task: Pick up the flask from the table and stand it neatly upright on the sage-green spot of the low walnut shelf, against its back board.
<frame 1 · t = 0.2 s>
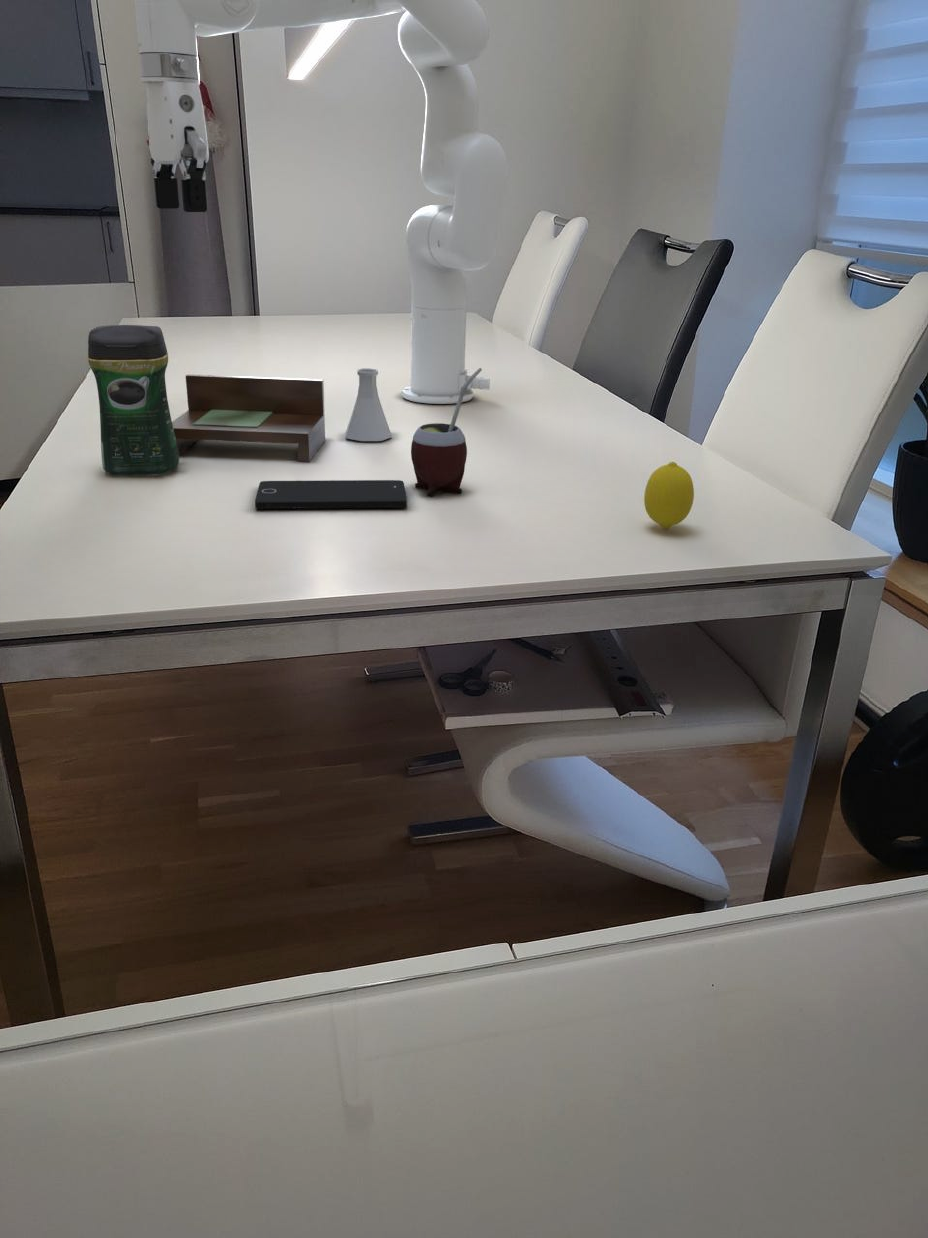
hand: (181, 209, 141), 31 cm above the table, tool pointing down, fingers open, 9 cm apart
coffee jar: (141, 471, 133), on the table
lemon: (664, 531, 117), on the table
shelf: (248, 448, 144), on the table
cell phone: (332, 499, 124), on the table
mate gourd: (441, 490, 129), on the table
flask: (368, 438, 152), on the table
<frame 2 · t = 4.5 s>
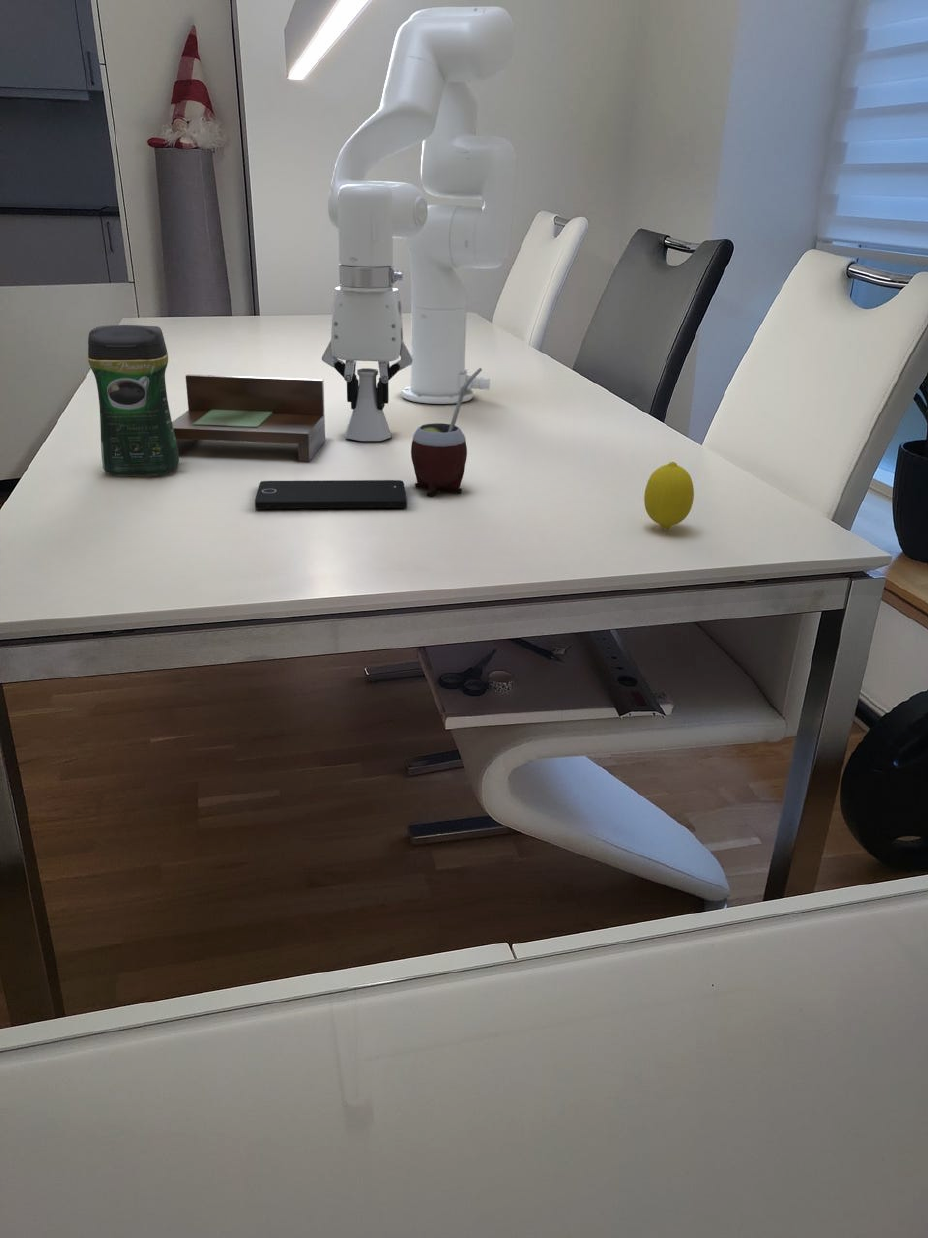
hand: (368, 406, 150), 5 cm above the table, tool pointing down, fingers closed on flask, 3 cm apart
flask: (368, 438, 152), on the table, touching gripper
everything else where it was.
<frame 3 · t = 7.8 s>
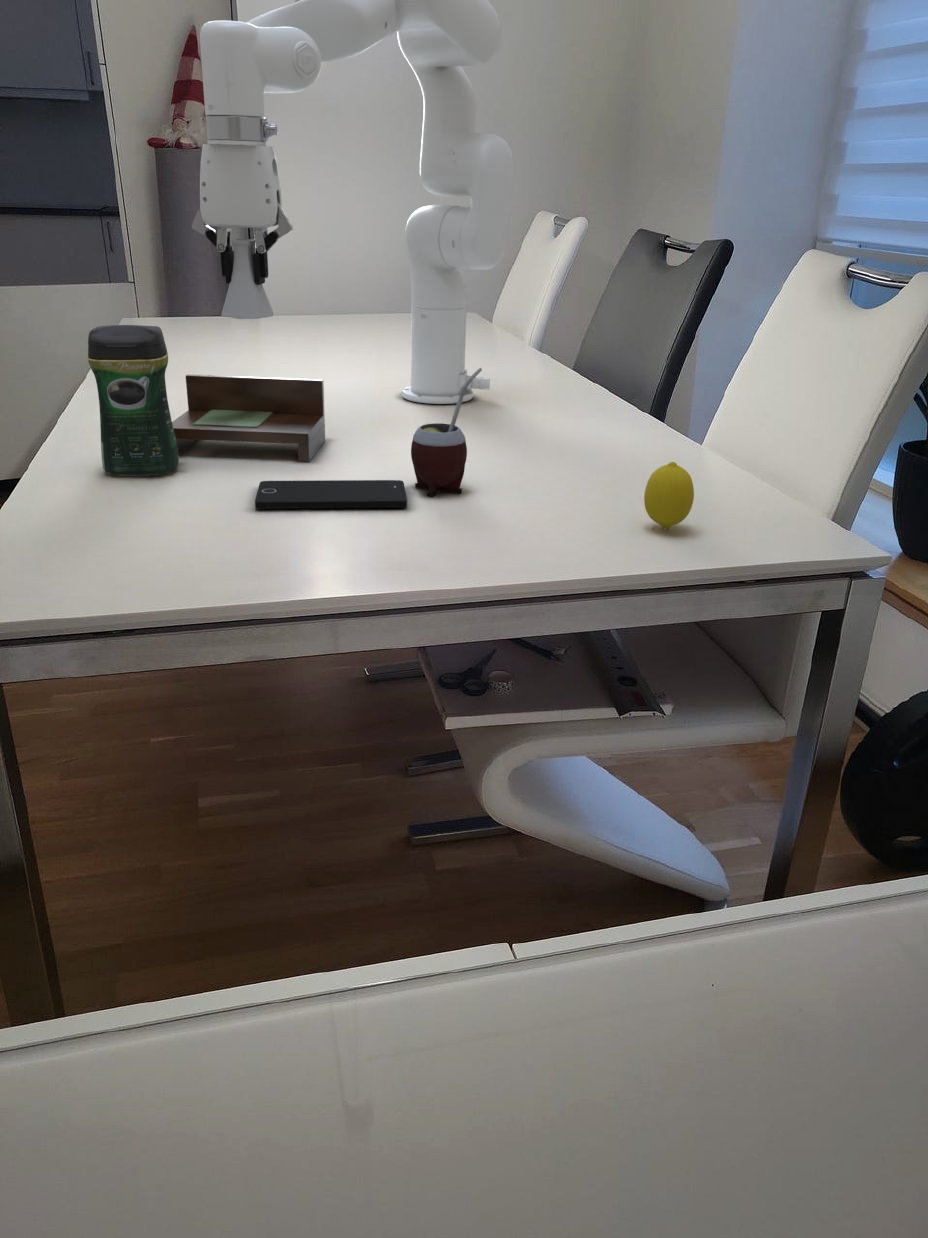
hand: (245, 281, 137), 23 cm above the table, tool pointing down, fingers closed on flask, 3 cm apart
flask: (247, 318, 139), point 18 cm above the table, touching gripper
everything else where it was.
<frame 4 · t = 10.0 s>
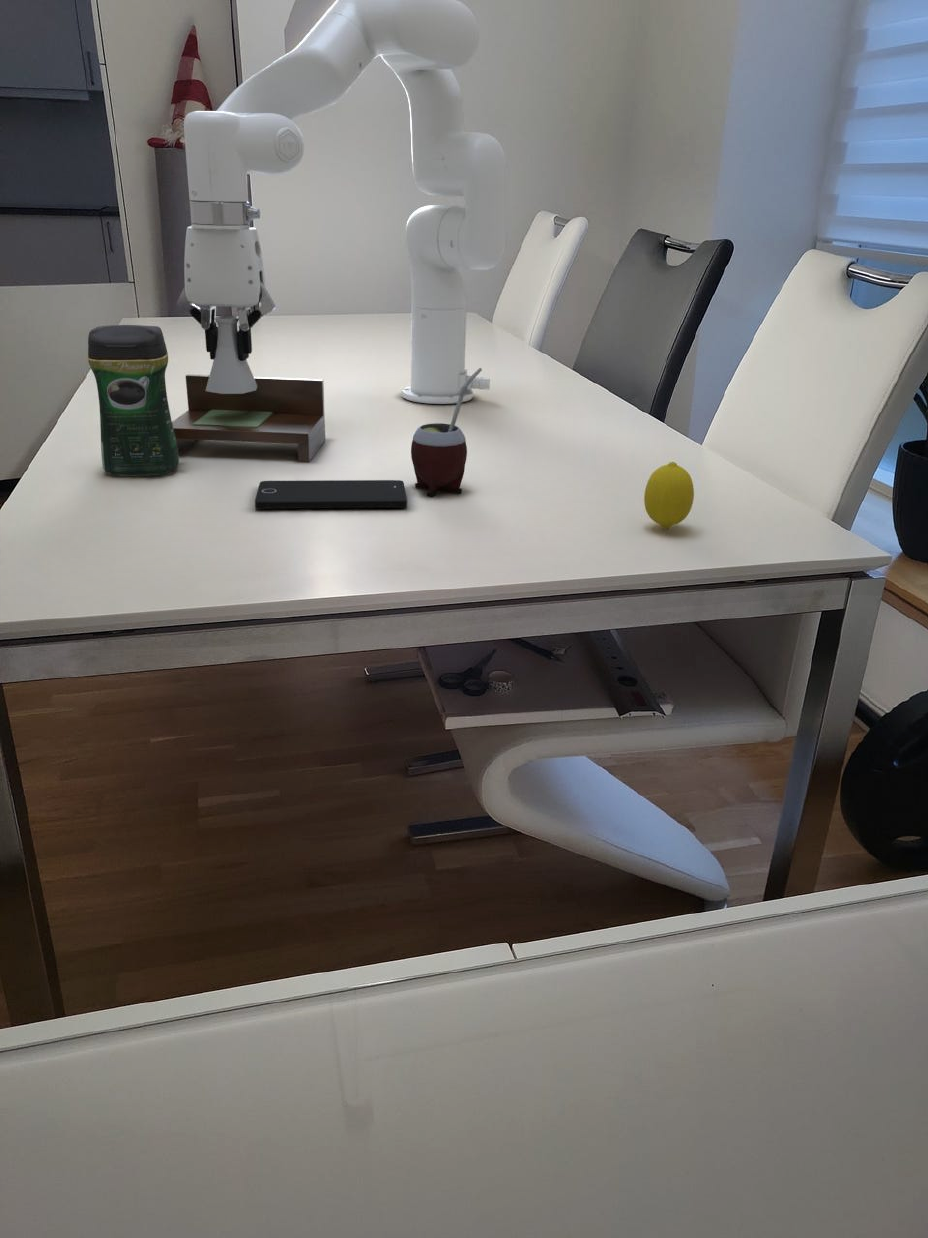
hand: (229, 356, 140), 13 cm above the table, tool pointing down, fingers closed on flask, 3 cm apart
flask: (232, 391, 142), point 8 cm above the table, touching gripper
everything else where it was.
when the fingers open (9 cm above the table, at t = 11.2 s): flask stays where it is, resting on shelf.
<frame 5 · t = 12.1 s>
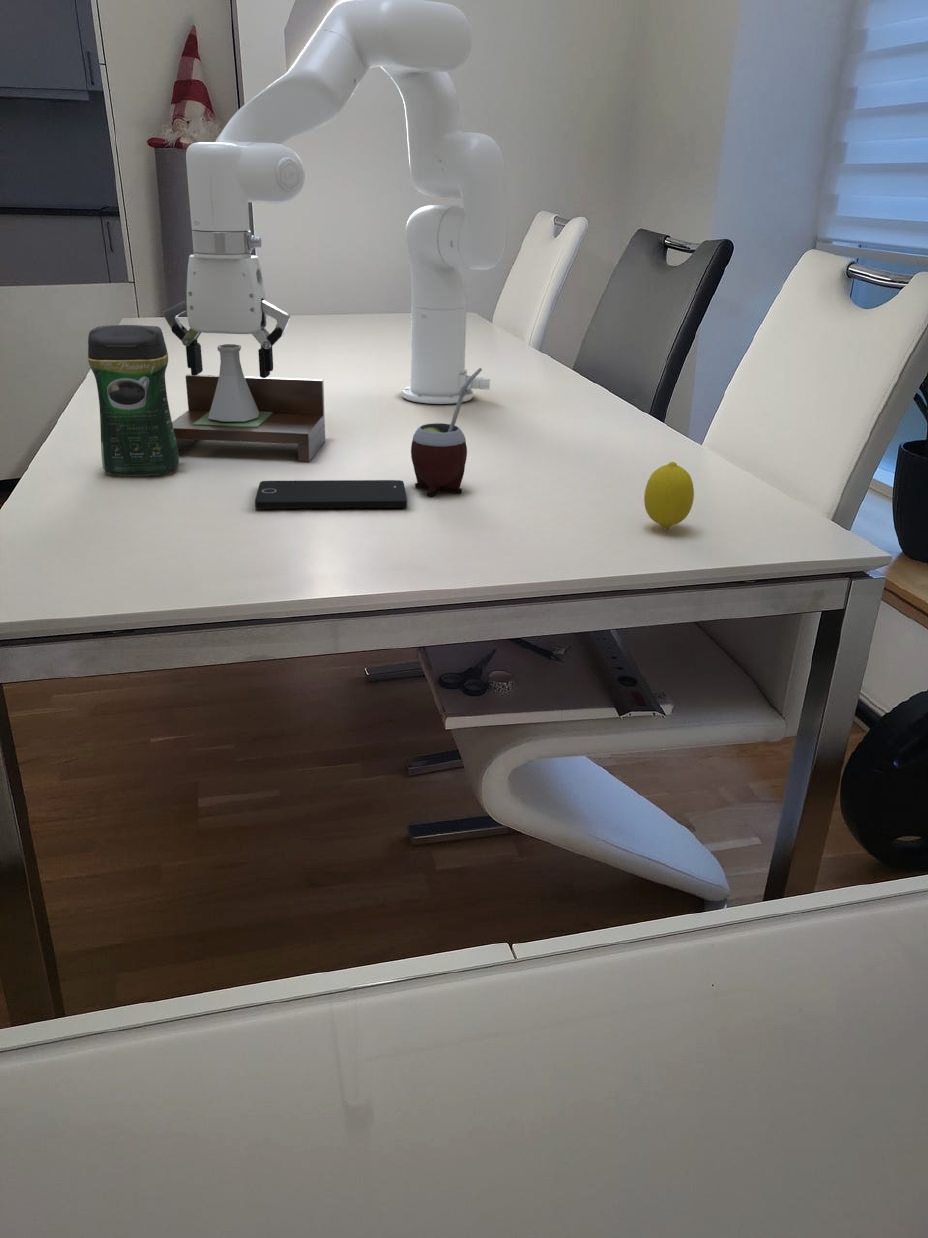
hand: (231, 374, 141), 10 cm above the table, tool pointing down, fingers open, 9 cm apart
flask: (234, 419, 143), point 4 cm above the table, touching shelf
everything else where it was.
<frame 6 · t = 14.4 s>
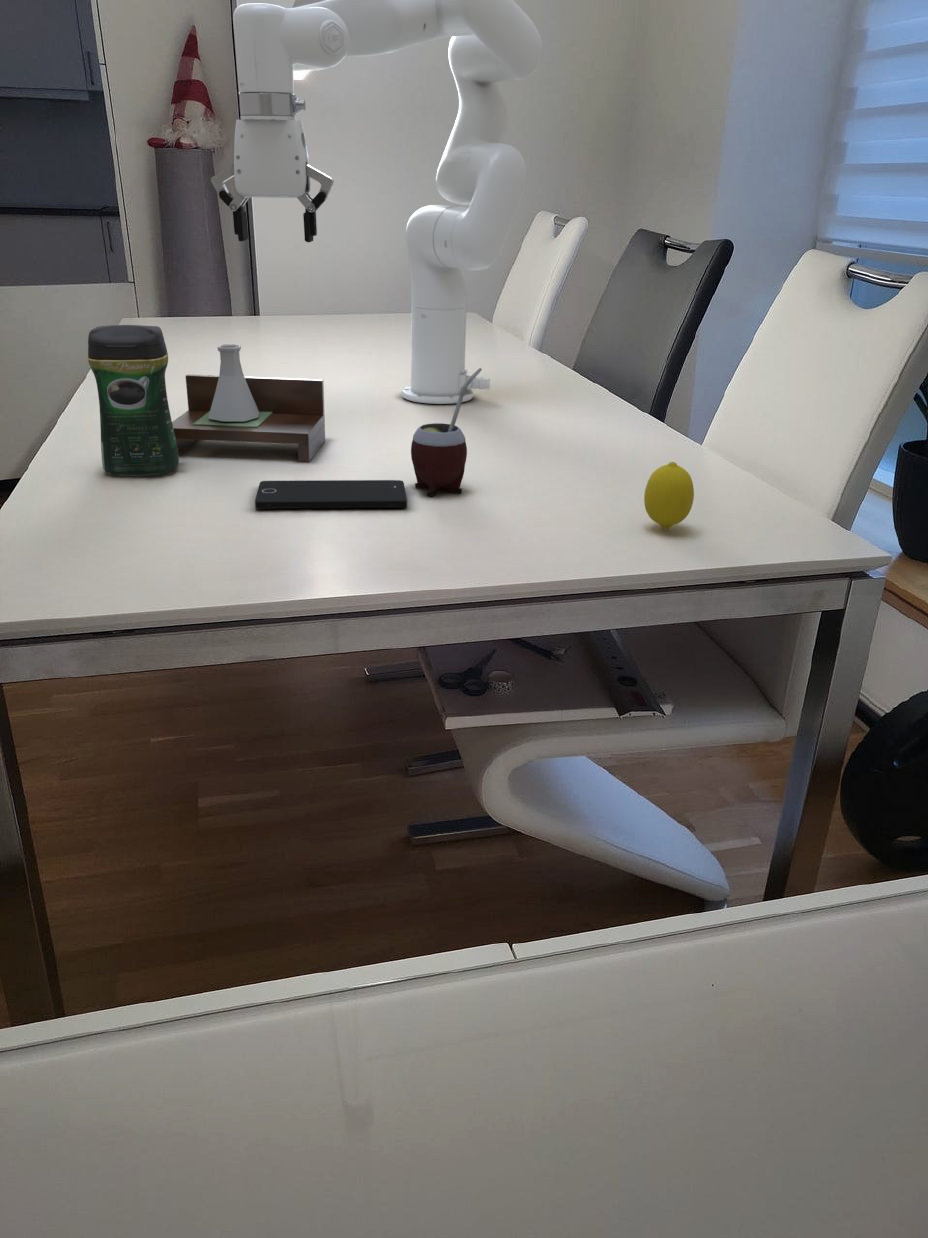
hand: (276, 240, 146), 27 cm above the table, tool pointing down, fingers open, 9 cm apart
nothing on the table moved.
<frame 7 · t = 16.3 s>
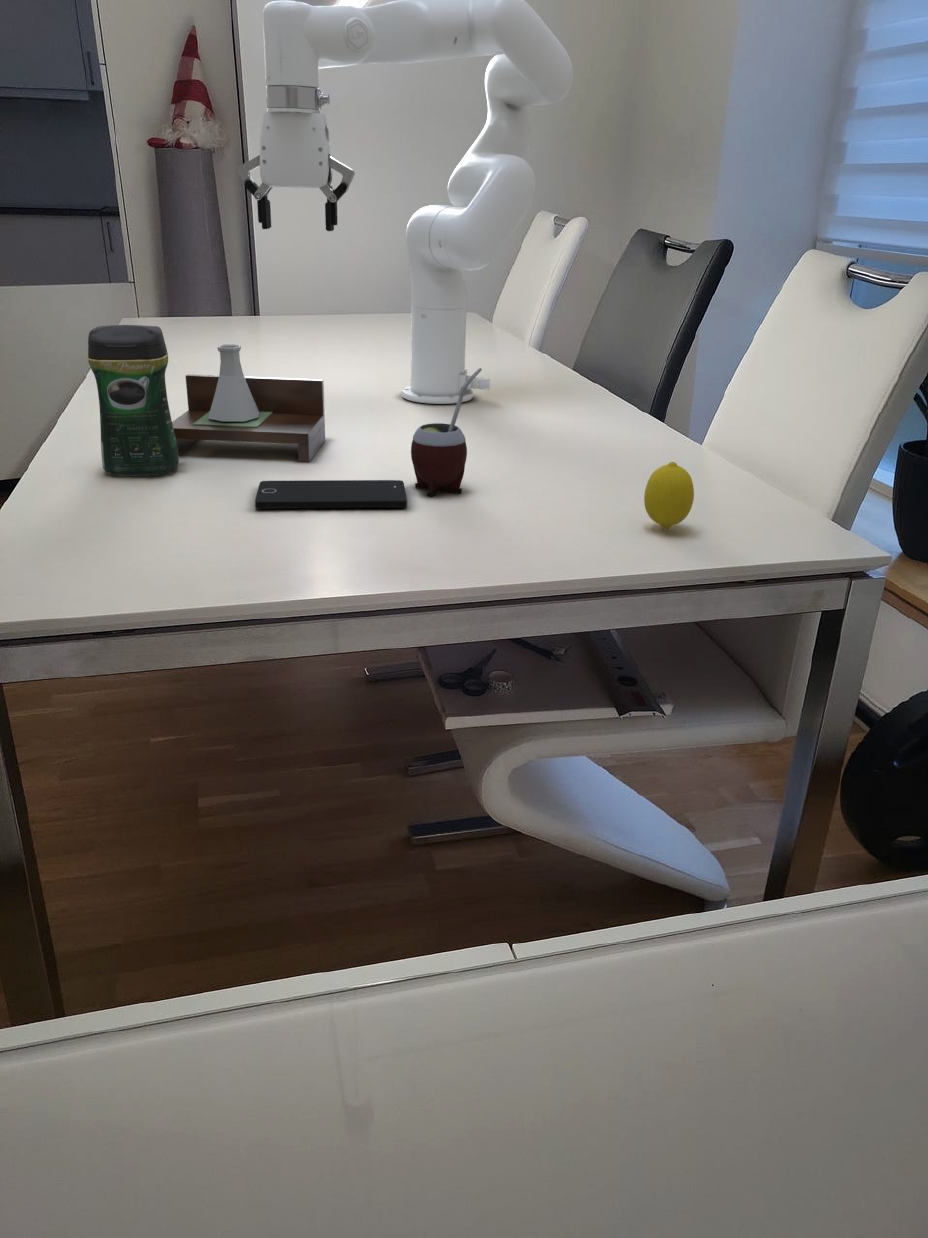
hand: (298, 229, 152), 28 cm above the table, tool pointing down, fingers open, 9 cm apart
nothing on the table moved.
at the end: flask 0.1 cm from the target spot on the shelf, point 4.0 cm above the shelf's base; flask tilted 0°; the gripper is holding nothing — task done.
